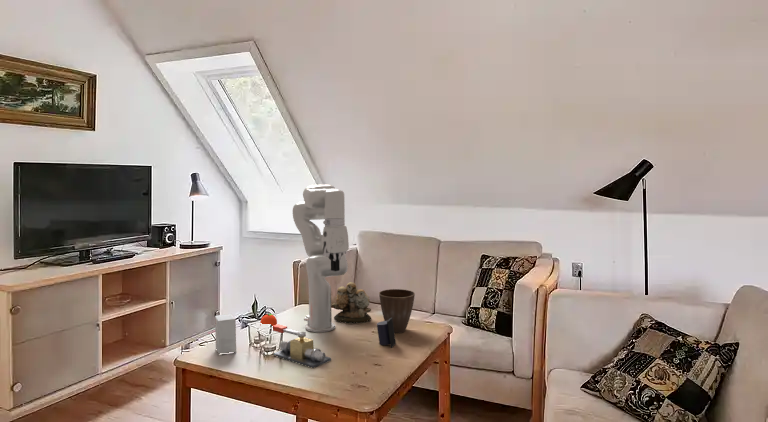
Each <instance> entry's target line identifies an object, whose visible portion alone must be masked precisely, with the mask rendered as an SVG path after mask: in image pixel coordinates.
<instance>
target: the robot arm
mask: <svg viewBox="0 0 768 422" xmlns="http://www.w3.org/2000/svg"><path fill="white" fill-rule="evenodd" d="M302 197H303V201H299V202H297V203H295V204H294V205H293V207H292V219H293V221H294V225H295V227H296V229H297V230H298V232H299V233H300V235H301V238H302V239H301V240H302V242H303V246H304V250H305V253H306V255H307V256H308V257H307V259H306V261H305V267H306V273H307V280H308V282H307V283H308V314H307V315H305V317H304V318H303V321H304V322H305V321H306V322H307V324H306V325H305V329H306V331H308V332H312V333H326V332H330V331H333V330H335V328H336V324H335V323H334V322H332V320H333V319H332V317H333V316H332V286H331V283H329V281H327V279H326V278H329V277H340V276H343V275H345V274H347V272H348V269H349V268H348V267H349V266H348V265H349V264H348V259H347V257H346V254H347V252H348V251H349V247H350V246H349V245H350V244H349V243H350V242H349V233H348V232H349V231H348V229H347V226H346V225H345V224H346V223H345V222H346V219H345V215H346V214H345V192H344V191H343V190H341V189H338V188H336V187H335V186H334V185H332V184H311V185H308V186H306V187H305V188H304V189H303V192H302ZM319 220H322V223H323V224H324V226H323V231H322V233H321V229H320V228H319V227H318V225H317V224H315V223H314V222H312V221H319Z"/></svg>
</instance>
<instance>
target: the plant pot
mask: <svg viewBox="0 0 768 422" xmlns="http://www.w3.org/2000/svg"><path fill="white" fill-rule="evenodd" d="M378 295H379V301H380V302H379V303H380V307H381V313H382V316H383V321H388V320H389V319H390V318H392V320H393V327H394V333H395V334H400V333H404V332H405V331H406V329H407V327H408V324H409V321H410V318H411V315H412V311H413V306H414V302H415V295H416V293H415V292H414V291H412V290H407V289H401V288H397V289H396V288H393V289H384V290H382V291H381V290H380V291H379V292H378Z"/></svg>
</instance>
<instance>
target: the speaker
mask: <svg viewBox="0 0 768 422" xmlns="http://www.w3.org/2000/svg"><path fill="white" fill-rule="evenodd" d="M376 329H377V335H378V337H377V338H378V341H379V343H378V344H379V345H380V346H388V345H390V348H391V349H392V348H394V346H395V345H396V344H397V342H396V341H397V340H396V336H395V334H396V333H394V327H393V320H392V318H390V319H389V320H388V321H384V320H383V321H382V320H381V321H378V322H377V323H376Z"/></svg>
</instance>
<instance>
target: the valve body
mask: <svg viewBox="0 0 768 422" xmlns="http://www.w3.org/2000/svg"><path fill="white" fill-rule="evenodd" d="M279 349H280V350H279V351H276V352H273V356H274V355H276V356H278V357H277V358H279V357H281V358H280V359H282V358H284V359H283V360H286V359H287V361H289V360H290V361H289V362H292V361H294V362H293V363H295V362H297V363H296V364H298V363H300V364H299V365H301V364H303V365H302V366H305V365H306V366H305V367H308V366H309V367H308V368H311V367H312V369H314V367H315V368H317V367H319V366H322V365H324V364H327V363H329V362H332V357H331V356H330V357H329V356H326V353H325V352H323V351H322V350H321V349H320V348H314V339H313V338H307V337H306V336H305V337H296V338H293V339H290V340H287V341H286V340H284V341H281V343H280V344H279ZM276 356H275V357H276Z"/></svg>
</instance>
